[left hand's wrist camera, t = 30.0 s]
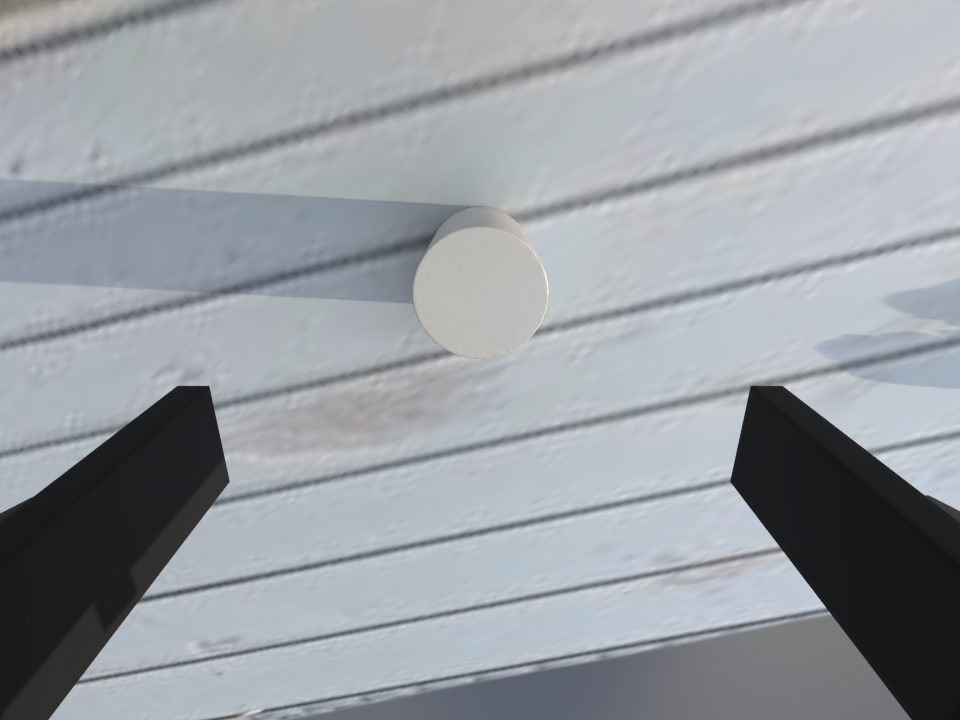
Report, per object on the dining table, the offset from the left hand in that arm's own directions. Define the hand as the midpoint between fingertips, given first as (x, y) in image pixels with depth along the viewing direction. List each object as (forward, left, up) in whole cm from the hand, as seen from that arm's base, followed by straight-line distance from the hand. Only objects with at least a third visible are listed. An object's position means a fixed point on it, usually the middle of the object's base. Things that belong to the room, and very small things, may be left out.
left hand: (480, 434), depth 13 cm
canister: (0, 0, -23) cm, 23 cm away
